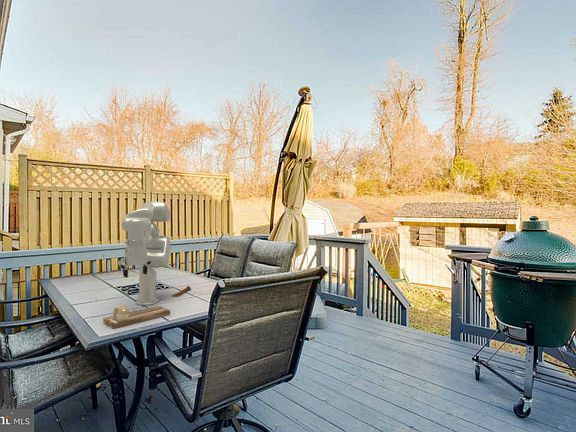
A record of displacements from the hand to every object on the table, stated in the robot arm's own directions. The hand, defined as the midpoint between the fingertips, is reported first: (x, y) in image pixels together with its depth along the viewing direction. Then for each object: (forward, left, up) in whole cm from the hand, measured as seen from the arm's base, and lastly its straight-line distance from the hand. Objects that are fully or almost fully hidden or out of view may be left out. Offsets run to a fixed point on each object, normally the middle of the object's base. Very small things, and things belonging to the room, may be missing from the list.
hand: (135, 275), depth 163 cm
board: (+2, +1, -23) cm, 23 cm away
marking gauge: (+4, -8, -20) cm, 22 cm away
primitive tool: (-28, +45, -23) cm, 58 cm away
